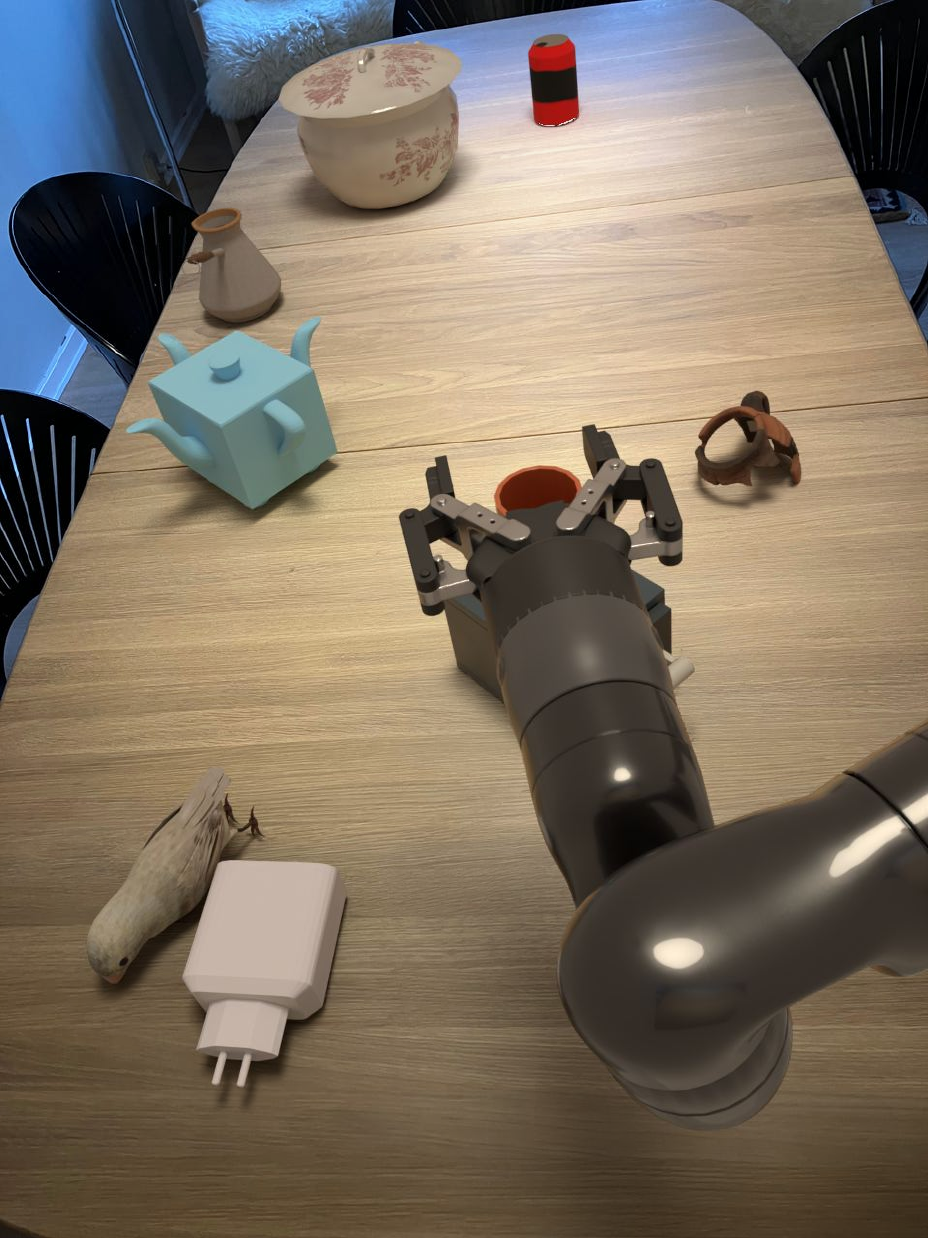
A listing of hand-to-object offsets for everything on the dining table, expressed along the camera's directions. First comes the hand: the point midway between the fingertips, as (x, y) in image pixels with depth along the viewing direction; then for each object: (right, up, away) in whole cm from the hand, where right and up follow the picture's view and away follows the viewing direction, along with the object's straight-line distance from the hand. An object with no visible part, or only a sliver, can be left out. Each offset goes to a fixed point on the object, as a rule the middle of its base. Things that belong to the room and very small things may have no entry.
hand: (516, 452), depth 59 cm
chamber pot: (-14, +58, +104) cm, 120 cm away
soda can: (+13, +74, +114) cm, 137 cm away
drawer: (+8, -15, +27) cm, 32 cm away
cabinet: (+5, -14, +30) cm, 34 cm away
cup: (+4, -7, +23) cm, 25 cm away
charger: (-17, -36, +14) cm, 42 cm away
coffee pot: (-33, +30, +81) cm, 92 cm away
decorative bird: (-24, -31, +20) cm, 44 cm away
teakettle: (-26, +8, +58) cm, 64 cm away
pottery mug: (+26, +5, +45) cm, 52 cm away
